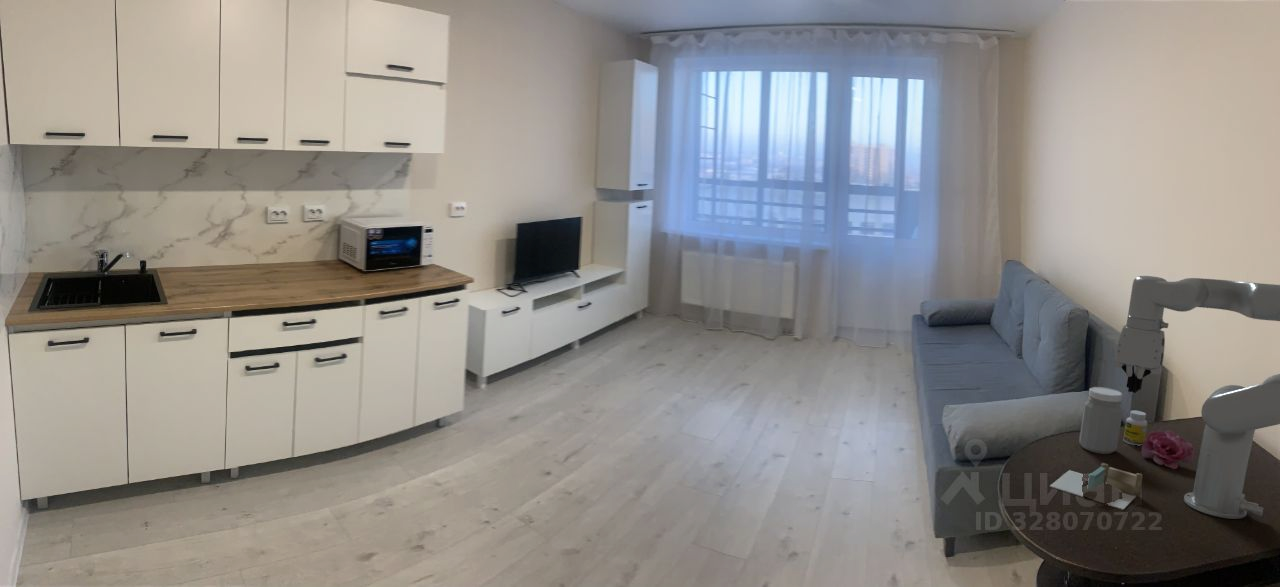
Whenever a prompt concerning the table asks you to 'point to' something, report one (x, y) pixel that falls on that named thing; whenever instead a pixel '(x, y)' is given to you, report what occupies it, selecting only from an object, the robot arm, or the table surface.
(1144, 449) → the flower
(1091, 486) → the fence gate
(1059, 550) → the table surface
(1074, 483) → the card
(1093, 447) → the jar
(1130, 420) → the supplement bottle
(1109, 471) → the fence fixed
